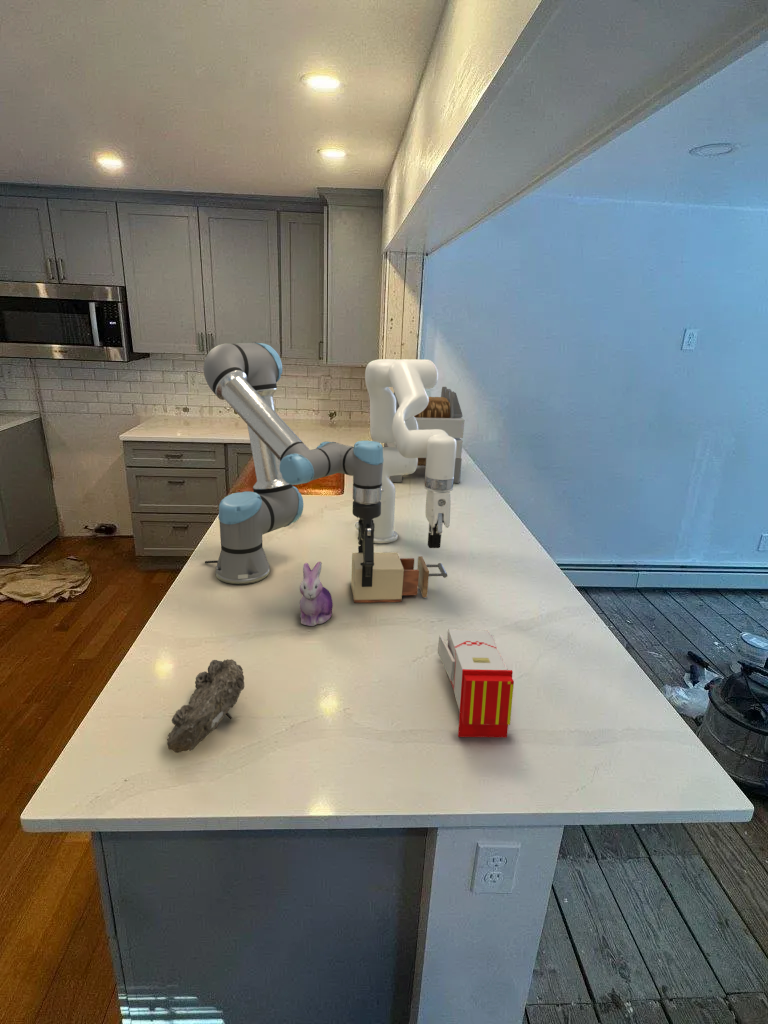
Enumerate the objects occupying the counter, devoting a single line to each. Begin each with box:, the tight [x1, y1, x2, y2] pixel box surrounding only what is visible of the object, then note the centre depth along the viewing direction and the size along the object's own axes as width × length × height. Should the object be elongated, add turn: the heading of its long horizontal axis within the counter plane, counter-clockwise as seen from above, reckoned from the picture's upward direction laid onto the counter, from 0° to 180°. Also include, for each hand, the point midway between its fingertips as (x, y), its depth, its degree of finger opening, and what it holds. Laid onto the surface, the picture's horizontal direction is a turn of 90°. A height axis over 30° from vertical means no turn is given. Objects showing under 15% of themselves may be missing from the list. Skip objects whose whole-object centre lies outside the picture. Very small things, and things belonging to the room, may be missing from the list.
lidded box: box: [350, 552, 404, 604], centre depth 156 cm, size 13×11×10 cm
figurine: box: [299, 561, 334, 627], centre depth 141 cm, size 9×10×15 cm
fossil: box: [166, 658, 245, 754], centre depth 106 cm, size 22×10×15 cm
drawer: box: [399, 555, 449, 598], centre depth 158 cm, size 17×10×8 cm, turn 97°
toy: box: [437, 628, 515, 738], centre depth 117 cm, size 12×13×30 cm
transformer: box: [383, 386, 465, 484], centre depth 268 cm, size 34×33×41 cm
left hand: (364, 576), depth 156 cm, fingers closed on lidded box, 11 cm apart
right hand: (433, 546), depth 155 cm, fingers closed
